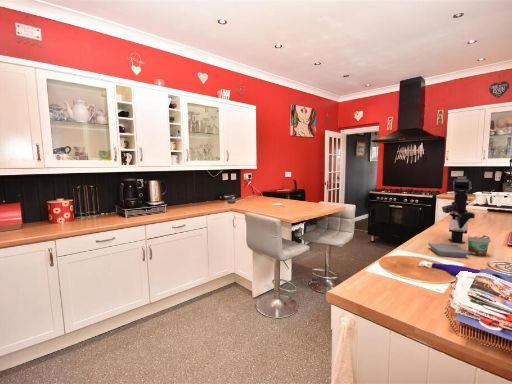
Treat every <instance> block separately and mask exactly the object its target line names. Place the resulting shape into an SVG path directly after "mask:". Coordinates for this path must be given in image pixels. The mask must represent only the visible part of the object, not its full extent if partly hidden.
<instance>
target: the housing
mask: <svg viewBox="0 0 512 384" xmlns="http://www.w3.org/2000/svg"><path fill="white" fill-rule="evenodd" d="M448 223H449V224H448V229H449V228H450V229H451V230H463V231H467V232H468V230H467V229H469V220H468V221H467V222H466V224H465V225H464V226H463V228H459V219H458V218H457V217H455V218H452V217H450V218H449V222H448Z"/></svg>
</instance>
